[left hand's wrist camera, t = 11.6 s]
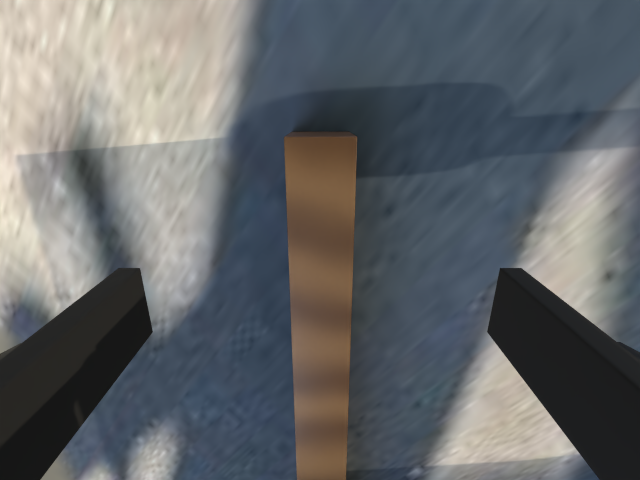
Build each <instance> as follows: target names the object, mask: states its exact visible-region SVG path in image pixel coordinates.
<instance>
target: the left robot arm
mask: <svg viewBox="0 0 640 480" xmlns="http://www.w3.org/2000/svg"><path fill="white" fill-rule="evenodd" d="M152 332H153V331H152V326H151V321H150V316H149V311H148V306H147V301H146V296H145V291H144V286H143V281H142V276H141V271H140V268H118V269H117V270H116V271H114V272H113V273H112V274H111V275H109V276H108V277H107V278H105V279H104V280H103V281H102V282H100V283H99V284H98V285H96V286H95V287H94V288H93V289H91V290H90V291H89V292H87V293H86V294H85V295H83V296H82V297H81V298H80V299H78V300H77V301H76V302H74V303H73V304H72V305H71V306H69V307H68V308H67V309H65V310H64V311H63V312H62V313H60V314H59V315H58V316H56V317H55V318H54V319H52V320H51V321H50V322H49V323H47V324H46V325H45V326H43V327H42V328H41V329H40V330H38V331H37V332H36V333H34V334H33V335H32V336H31V337H29V338H28V339H27V340H25V341H24V342H23V343H20V344H18V345H16V346H14V347H12V348H11V349H9V350H7V351H5V352H3V353H1V354H0V480H40V479H41V478H42V477H43V475H44V474H45V473H46V471H47V470H48V469H49V467H50V466H51V465H52V464H53V462H54V461H55V460H56V458H57V457H58V456H59V454H60V453H61V452H62V450H63V449H64V448H65V446H66V445H67V444H68V443H69V441H70V440H71V439H72V437H73V436H74V435H75V433H76V432H77V431H78V429H79V428H80V427H81V425H82V424H83V423H84V422H85V420H86V419H87V418H88V416H89V415H90V414H91V412H92V411H93V410H94V408H95V407H96V406H97V404H98V403H99V402H100V401H101V399H102V398H103V397H104V395H105V394H106V393H107V391H108V390H109V389H110V387H111V386H112V385H113V383H114V382H115V381H116V380H117V378H118V377H119V376H120V374H121V373H122V372H123V370H124V369H125V368H126V366H127V365H128V364H129V362H130V361H131V360H132V359H133V357H134V356H135V355H136V353H137V352H138V351H139V349H140V348H141V347H142V345H143V344H144V343H145V341H146V340H147V339H148V338H149V336H150V335H151V334H152ZM487 332H488V334H489V335H490V336H491V338H492V339H493V340H494V341H495V343H496V344H497V345H498V347H499V348H500V349H501V351H502V352H503V353H504V355H505V356H506V357H507V359H508V360H509V361H510V362H511V364H512V365H513V366H514V368H515V369H516V370H517V372H518V373H519V374H520V376H521V377H522V378H523V380H524V381H525V382H526V383H527V385H528V386H529V387H530V389H531V390H532V391H533V393H534V394H535V395H536V397H537V398H538V399H539V401H540V402H541V403H542V404H543V406H544V407H545V408H546V410H547V411H548V412H549V414H550V415H551V416H552V418H553V419H554V420H555V422H556V423H557V424H558V425H559V427H560V428H561V429H562V431H563V432H564V433H565V435H566V436H567V437H568V439H569V440H570V441H571V443H572V444H573V445H574V446H575V448H576V449H577V450H578V452H579V453H580V454H581V456H582V457H583V458H584V460H585V461H586V462H587V464H588V465H589V466H590V468H591V469H592V470H593V471H594V473H595V474H596V475H597V477H598V478H599V479H600V480H640V352H638V351H636V350H634V349H632V348H630V347H628V346H627V345H625V344H623V343H621V342H616V341H615V340H613V339H612V338H611V337H609V336H608V335H607V334H606V333H604V332H603V331H602V330H600V329H599V328H598V327H597V326H595V325H594V324H593V323H591V322H590V321H589V320H588V319H586V318H585V317H584V316H582V315H581V314H580V313H578V312H577V311H576V310H575V309H573V308H572V307H571V306H569V305H568V304H567V303H566V302H564V301H563V300H562V299H560V298H559V297H558V296H557V295H555V294H554V293H553V292H551V291H550V290H549V289H547V288H546V287H545V286H544V285H542V284H541V283H540V282H538V281H537V280H536V279H535V278H533V277H532V276H531V275H529V274H528V273H527V272H526V271H524V270H523V269H522V268H500V271H499V276H498V281H497V286H496V291H495V296H494V301H493V306H492V311H491V316H490V321H489V326H488V331H487Z"/></svg>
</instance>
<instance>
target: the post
mask: <svg viewBox="0 0 640 480" xmlns="http://www.w3.org/2000/svg"><path fill="white" fill-rule="evenodd" d="M284 149H285V175H286V202H287V228H288V254H289V281H290V307H291V334H292V360H293V386H294V413H295V439H296V465H297V480H346V459H347V428H348V398H349V368H350V338H351V307H352V277H353V247H354V217H355V186H356V156H357V136H355V135H353V134H352V133H350V132H291V133H289V134H288V135H286V136H285V137H284Z"/></svg>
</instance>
